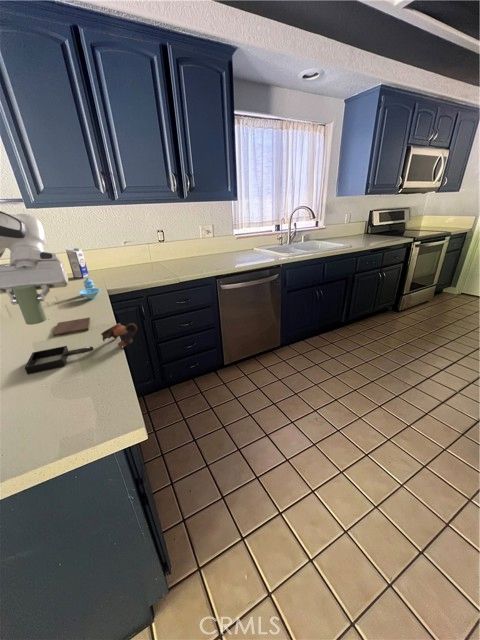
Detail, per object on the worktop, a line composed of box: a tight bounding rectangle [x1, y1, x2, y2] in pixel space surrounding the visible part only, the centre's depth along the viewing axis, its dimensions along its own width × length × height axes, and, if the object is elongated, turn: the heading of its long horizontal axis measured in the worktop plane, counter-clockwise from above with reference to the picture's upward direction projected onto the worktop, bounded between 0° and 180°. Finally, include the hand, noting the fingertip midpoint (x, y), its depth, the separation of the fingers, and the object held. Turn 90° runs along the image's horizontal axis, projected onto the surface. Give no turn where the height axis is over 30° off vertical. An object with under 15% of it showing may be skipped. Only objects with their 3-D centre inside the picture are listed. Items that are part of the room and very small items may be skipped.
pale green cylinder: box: [12, 284, 47, 326], centre depth 78 cm, size 5×5×11 cm
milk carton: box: [65, 247, 90, 279], centre depth 180 cm, size 7×7×20 cm
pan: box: [24, 345, 95, 375], centre depth 86 cm, size 18×10×3 cm, turn 114°
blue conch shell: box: [78, 277, 101, 300], centre depth 143 cm, size 18×10×9 cm, turn 28°
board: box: [52, 317, 91, 337], centre depth 109 cm, size 12×12×1 cm
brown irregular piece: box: [100, 322, 138, 349], centre depth 96 cm, size 12×10×8 cm
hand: (28, 302), depth 77 cm, fingers closed on pale green cylinder, 5 cm apart
